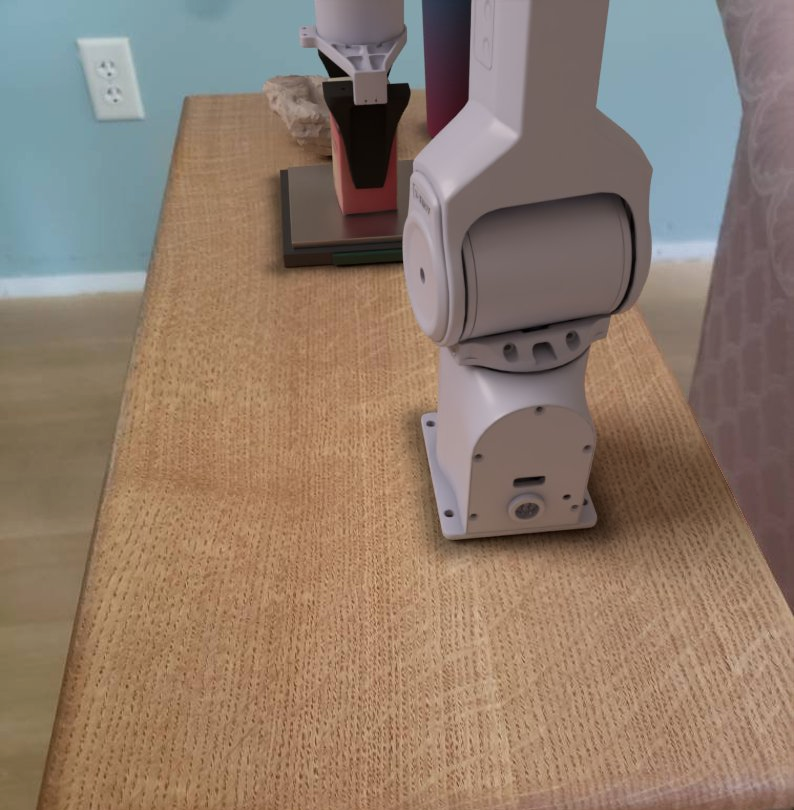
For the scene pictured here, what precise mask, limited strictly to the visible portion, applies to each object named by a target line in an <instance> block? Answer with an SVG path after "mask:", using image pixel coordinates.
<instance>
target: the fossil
mask: <svg viewBox="0 0 794 810" xmlns="http://www.w3.org/2000/svg"><path fill="white" fill-rule="evenodd" d="M328 79H329V77H324V76H321V75H319V74H316V75H313V74H312V75H310V74H308V75H298V74H289V75H275V76H273V77H271V78H268V79H267V80H266V81H265V82H264V83H263V85H262V93H263V94H264V95H265V96H266V98H267V99H268V108H269V109H270V111H271V112H272V113H273V114H275V115H276V116H278V117H280V118H281V120H282V122H283V124H284V125H285V126H286V128H287V130H288V131H289V133H290V135H291V137H293V138H294V139H295V140H296V143H298V145H299V146H301V147H302V148H303V149H305V150H306V151H308V152H309V153H313V154H314V155H317V156H327V157H328V156H332V139H331V122H330V110H329V109H328V106H327V104H326V102H325V100H324V96H323V88H322V82H327V81H328Z"/></svg>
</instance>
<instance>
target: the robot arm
mask: <svg viewBox="0 0 794 810" xmlns="http://www.w3.org/2000/svg"><path fill="white" fill-rule="evenodd" d="M609 8H610V0H472V2H471V38H470V73H469V100H468V102H467V104H466V105H465V107H464V108H463V109H462V110H461V111H460V112H459V113H458V114H457V116H456V117H455V118H454V119H453V120H452V121H451V122H450V123H449V124H448V125H447V126H446V127H445V128H444V129H442V130H441V131H440V132H439V133H438V134H437V135H436V136H435V137H434V138H433V137H432V139H431V140H430V141H429V142H428V143H427V144H426V145H425V147H424V148H423V149H421V151H420V152H419V153H418V154H417V155H416V157H415V158H414V159H413V160H414V161H413V174H412V175H411V177H410V198H409V210H408V217H407V219H406V222H405V225H404V231H403V260H402V261H403V272H404V279H405V285H406V290H407V291H406V292H407V296H408V300H409V304H410V307H411V310H412V313H413V316H414V319H415V321H416V323H417V325H418V327H419V329H420V330H421V332H422V333H423V334H424V335H425V336H426V337H428V338H429V340H431V341H432V342H433V343H434V344H435V345H436V346H437V347H439V351H438V352H439V353H438V386H437V411H435V412H433V411H432V412H426V413H424V414H422V416H421V418H420V424H421V430H422V435H423V441H424V446H425V451H426V456H427V460H428V468H429V471H430V477H431V481H432V482H431V483H432V486H433V492H434V496H435V497H434V498H435V503H436V507H437V512H438V517H439V523H440V528H441V533H442V535H443V537H444V538H445V539H447V540H452V541H453V540H465V539H477V538H489V537H499V536H500V537H501V536H510V535H511V536H512V535H521V534H533V533H545V532H556V531H557V532H558V531H568V530H579V529H589V528H590V529H591V528H592V527H595V526H596V524H597V521H598V515H597V512H596V509H595V506H594V503H593V500H592V498H591V495H590V492H589V490H588V489H589V488H588V484H589V479H590V475H591V469H592V465H593V461H594V455H595V452H596V448H597V430H596V426H595V423H594V420H593V417H592V415H591V412H590V408H589V405H588V401H587V395H586V385H585V382H586V374H587V373H586V372H587V367H588V362H589V358H590V352H591V346H592V344H593V343H595V342H597V341H600V340H604V339H607V337H608V332H609V327H610V322H611V317H612V316H616V315H621V314H624V313H626V312H629V311H630V310H631V309H632V308H633V307H634V306H635V305H636V303H637V302H638V300H639V298H640V297H641V295H642V292H643V290H644V287H645V285H646V283H647V281H648V277H649V273H650V269H651V264H652V254H653V240H652V239H653V238H652V230H651V229H652V228H651V223H650V196H651V194H650V193H651V186H652V185H651V184H652V178H653V171H654V168H653V165H652V164H651V163H650V160H649V159H648V157H647V155H646V153H645V151H644V150H643V149H642V147H641V146H640V144H639V143H638V142H637V140H636V139H634V138H633V136H632V135H630V134H629V132H628V131H626V130H625V129H623V127H621V126H620V125H619V124H618V123H616V122H615V121H614V120H613V119H612V118H611V117H609V116H607V115H606V114H605V113H604V112H602V111H601V110H600V109H598V108H597V102H598V94H599V86H600V79H601V71H602V63H603V55H604V47H605V40H606V32H607V24H608V15H609ZM314 12H315V13H314V15H315V24H314V25H303V26H300V27H299V29H298V37H299V45H300V47H302V48H305V49H313V48H314V49H317V55H318V58H319V59H320V61H321V63H322V65H323V67H324V69H325V71H326V72H327V75H328V78H341V77H351V78H352V81H351V80H345V81H327V82H322V88H323V96H324V100H325V102H326V104H327V106H328V109H329V110H330V112H331V114H332V115H333V117H334V119H335V121H336V123H337V125H338V127H339V130H340V133H341V136H342V139H343V142H344V146H345V151H346V156H347V160H348V165H349V170H350V174H351V178H352V181H353V184H354V186H355V189H370V188H382V187H384V184H385V180H386V176H387V172H388V166H389V161H390V154H391V149H392V144H393V139H394V136H395V132H396V129H397V126H398V127H399V124H400V121H401V119H402V116H404V115H403V114H404V113H405V112H406V109H407V107H408V106H409V102H410V99H411V96H412V91H411V87H410V84H409V82H396V83H390V84H387V78H388V79H389V76H390V73H391V70H392V67H393V65H394V63H395V62H396V60H397V59H398V57H399V55H400V54H401V52H402V51H403V49H404V47H405V46H406V45H407V43H408V27H407V25H406V24H405V0H314Z"/></svg>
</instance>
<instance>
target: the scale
mask: <svg viewBox="0 0 794 810" xmlns="http://www.w3.org/2000/svg"><path fill="white" fill-rule="evenodd" d="M414 160H415V159H402V160H401V159H400V160H399V159H398V209H396V210H387V211H379V212H368V213H356V214H346V215H345V214H343V213H342V210H341V207H340V204H339V201H338V198H337V194H336V190H335V186H334V175H333V163H332V164H319V165H318V164H317V165H301V166H299V165H298V166H288V167H287V169H280V170H279V189H280V217H281V218H280V219H281V240H282V241H281V243H282V259H283V267H284V268H293V267H306V266H321V265H333V266H341V265H357V264H372V263H384V262H385V263H387V262H400V261H401V262H402V261H403V231H404V225H405V222H406V219H407V217H408V210H409V198H410V177H411V175H412V174H413V161H414Z"/></svg>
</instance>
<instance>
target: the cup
mask: <svg viewBox="0 0 794 810" xmlns="http://www.w3.org/2000/svg"><path fill="white" fill-rule="evenodd" d="M471 2H472V0H421V15H422V16H421V17H422V39H423V40H422V41H423V42H422V43H423V61H424V62H423V63H424V85H425V111H426V131H427V134H428V135H429V136H430V137H431V138H432V139H433V138H434V137H435V136H436V135H437V134H438V133H439V132H440V131H441V130H442V129H444V128H445V127H446V126H447V125H448V124H449V123H450V122H451V121H452V120H453V119H454V118H455V117H456V116H457V114H458V113H459V112H460V111H461V110H462V109H463V108H464V107H465V105H466V104H467V102H468V100H469V73H470V38H471Z"/></svg>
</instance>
